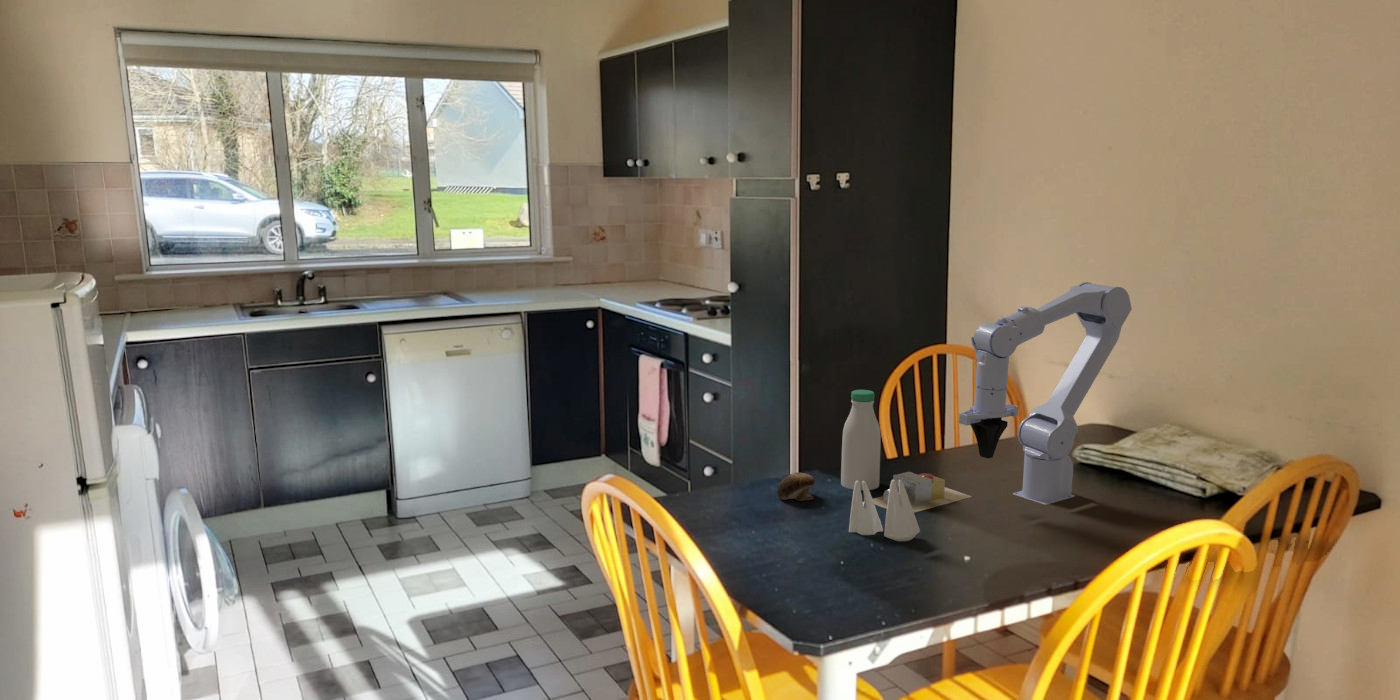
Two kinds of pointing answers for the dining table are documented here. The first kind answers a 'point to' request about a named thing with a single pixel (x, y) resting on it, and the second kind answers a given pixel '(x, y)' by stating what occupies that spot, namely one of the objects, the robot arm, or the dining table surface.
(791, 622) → the dining table surface
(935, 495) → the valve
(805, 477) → the mushroom
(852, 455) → the milk bottle
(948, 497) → the board
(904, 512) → the salt and pepper shakers
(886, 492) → the grey rectangular block
